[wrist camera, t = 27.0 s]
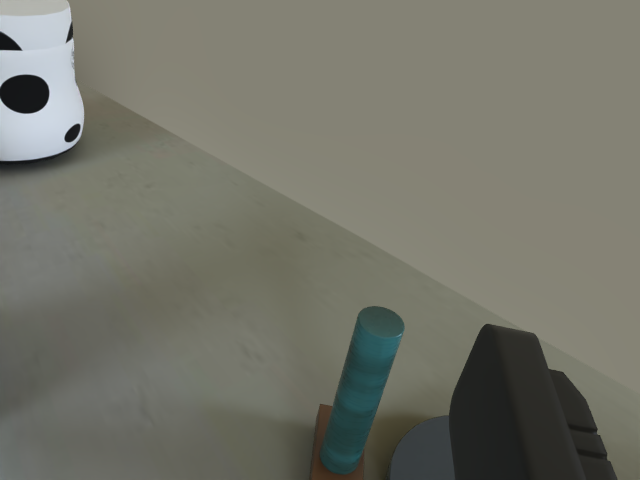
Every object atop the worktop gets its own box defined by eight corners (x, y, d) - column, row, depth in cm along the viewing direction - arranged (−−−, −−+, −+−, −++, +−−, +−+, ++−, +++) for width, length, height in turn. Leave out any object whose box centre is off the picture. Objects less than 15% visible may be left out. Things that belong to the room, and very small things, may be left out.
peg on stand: (353, 544, 38) (414, 383, 30) (301, 534, 38) (348, 370, 30) (357, 433, 46) (407, 282, 38) (314, 425, 46) (354, 271, 38)
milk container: (99, 128, 83) (96, -5, 74) (63, 185, 69) (54, 29, 59) (-32, 110, 81) (-52, -30, 71) (-98, 165, 66) (-134, -2, 57)
